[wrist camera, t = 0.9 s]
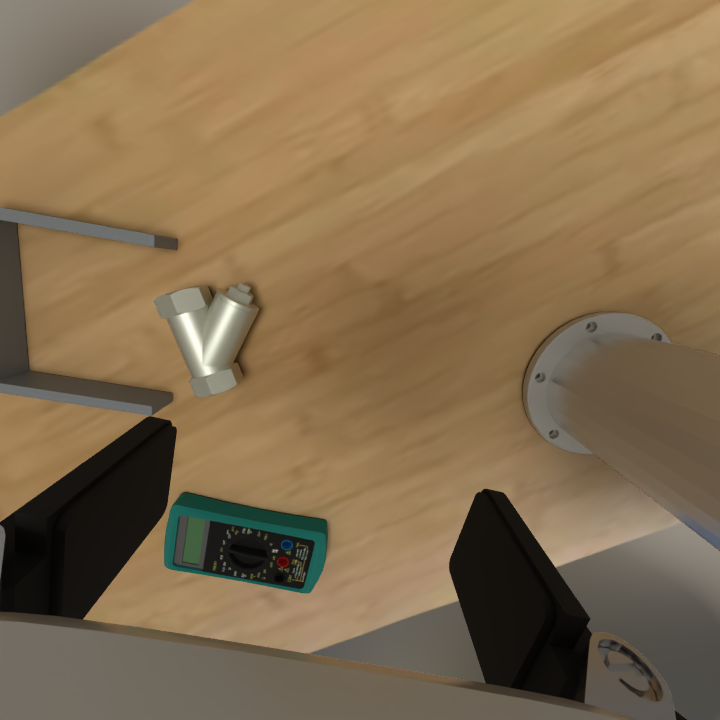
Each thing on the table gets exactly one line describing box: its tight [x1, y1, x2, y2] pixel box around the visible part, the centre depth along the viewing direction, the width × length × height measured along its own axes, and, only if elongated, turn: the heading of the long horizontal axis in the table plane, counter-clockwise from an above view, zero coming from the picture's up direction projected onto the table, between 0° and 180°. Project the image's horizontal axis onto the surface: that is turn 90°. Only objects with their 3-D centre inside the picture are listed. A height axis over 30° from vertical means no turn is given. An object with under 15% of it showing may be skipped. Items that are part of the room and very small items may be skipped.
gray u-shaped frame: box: [0, 207, 177, 416], centre depth 26 cm, size 13×14×3 cm
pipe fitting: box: [154, 282, 259, 397], centre depth 26 cm, size 8×4×7 cm
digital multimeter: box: [164, 493, 327, 593], centre depth 32 cm, size 7×15×3 cm, turn 76°
